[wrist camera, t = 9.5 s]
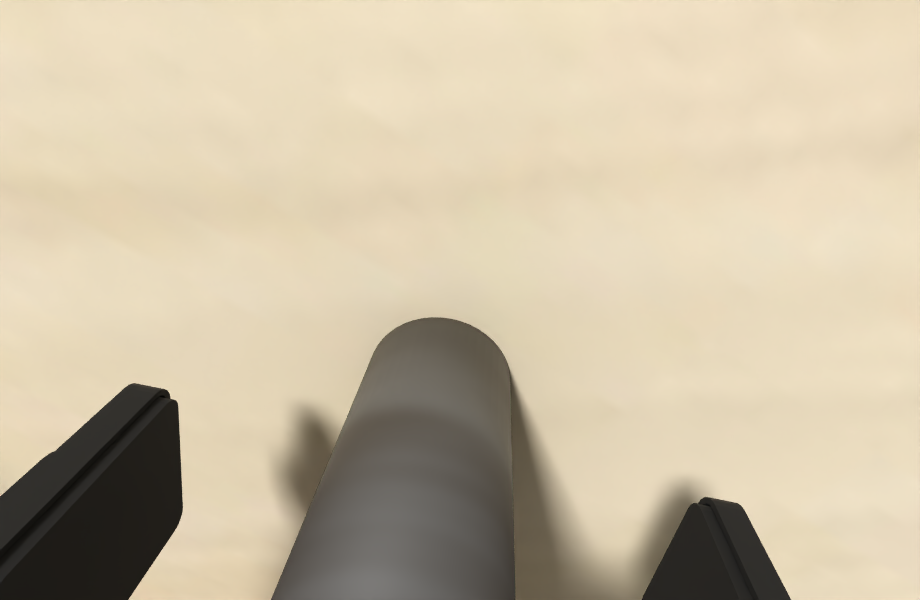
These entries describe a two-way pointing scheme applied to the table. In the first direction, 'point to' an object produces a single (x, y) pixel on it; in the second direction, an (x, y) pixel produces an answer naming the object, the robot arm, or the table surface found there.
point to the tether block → (416, 478)
